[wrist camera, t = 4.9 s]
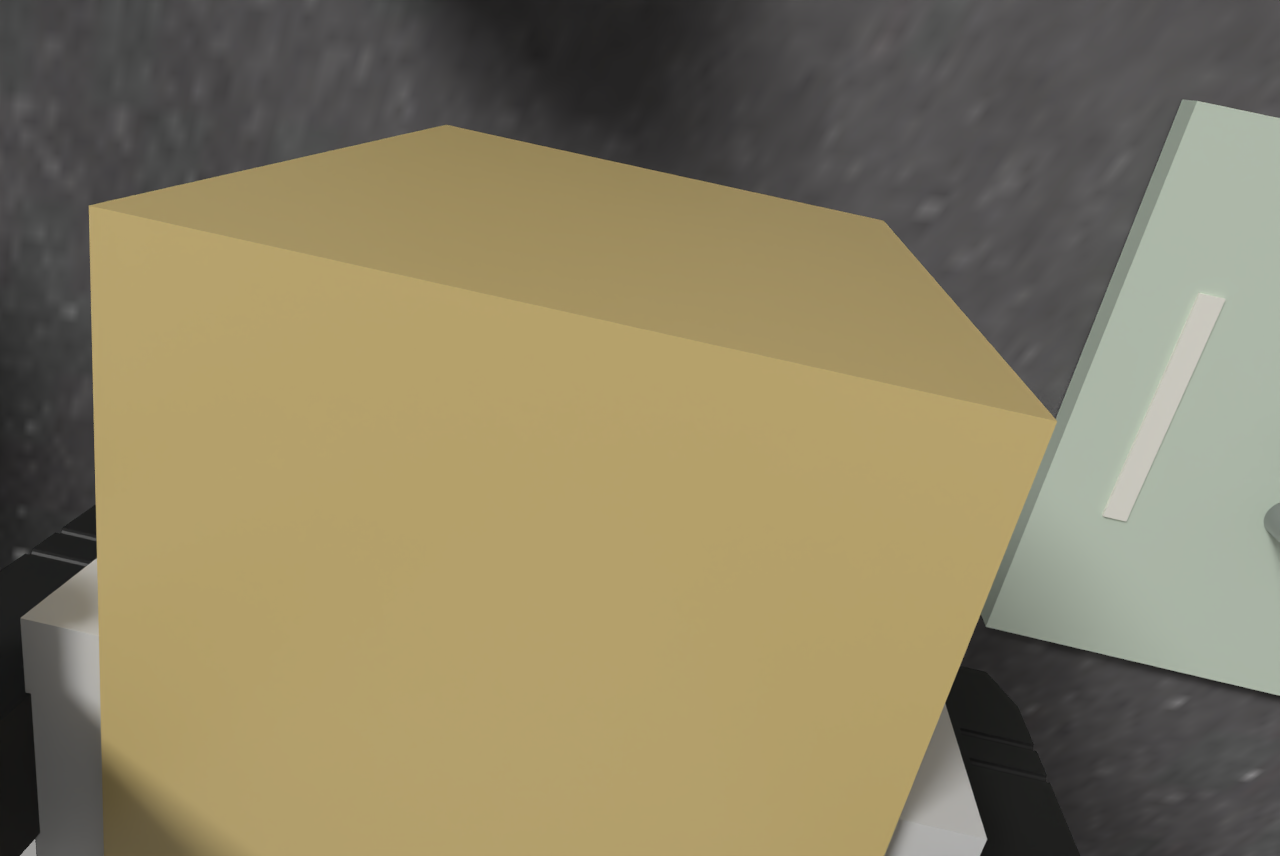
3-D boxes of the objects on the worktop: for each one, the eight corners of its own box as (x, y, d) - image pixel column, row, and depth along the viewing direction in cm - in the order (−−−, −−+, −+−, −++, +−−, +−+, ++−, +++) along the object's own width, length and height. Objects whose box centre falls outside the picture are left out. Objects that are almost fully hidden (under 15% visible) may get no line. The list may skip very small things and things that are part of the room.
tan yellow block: (379, 697, 15) (110, 1169, 9) (446, 125, 12) (87, 204, 5) (718, 776, 15) (701, 1314, 9) (883, 220, 12) (1057, 422, 5)
